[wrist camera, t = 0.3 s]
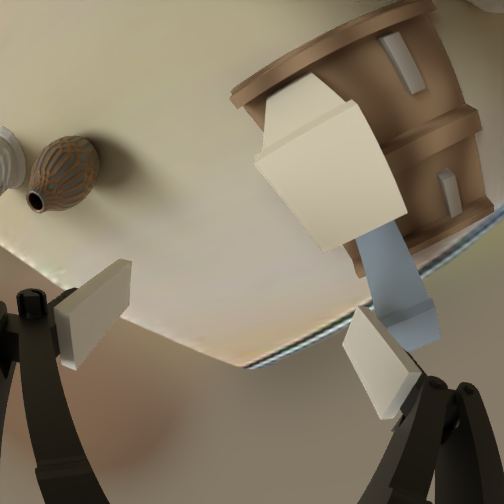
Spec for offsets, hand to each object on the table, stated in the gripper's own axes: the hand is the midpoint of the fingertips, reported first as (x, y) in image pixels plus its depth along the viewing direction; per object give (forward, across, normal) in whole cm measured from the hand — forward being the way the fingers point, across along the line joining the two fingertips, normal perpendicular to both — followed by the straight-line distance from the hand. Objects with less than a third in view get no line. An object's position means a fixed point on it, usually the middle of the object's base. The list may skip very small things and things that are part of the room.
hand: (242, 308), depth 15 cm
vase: (+13, -19, +6) cm, 24 cm away
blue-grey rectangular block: (+13, +12, +5) cm, 18 cm away
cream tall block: (+8, +2, +13) cm, 16 cm away
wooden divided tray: (+10, +11, +13) cm, 20 cm away
